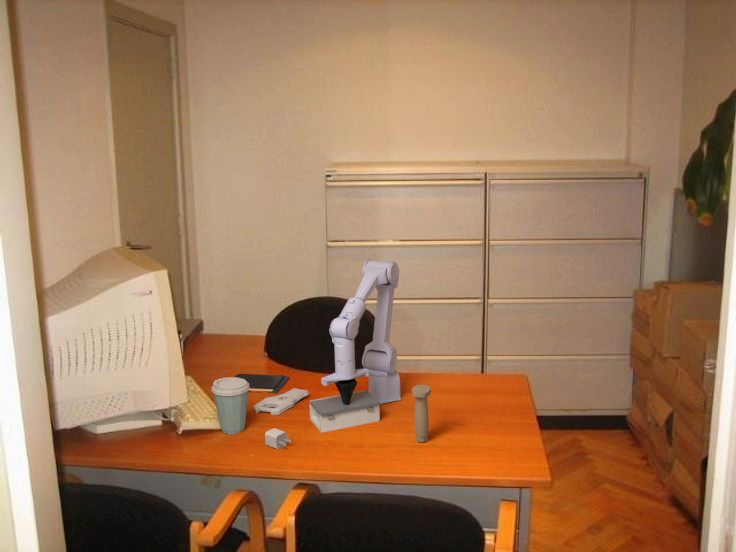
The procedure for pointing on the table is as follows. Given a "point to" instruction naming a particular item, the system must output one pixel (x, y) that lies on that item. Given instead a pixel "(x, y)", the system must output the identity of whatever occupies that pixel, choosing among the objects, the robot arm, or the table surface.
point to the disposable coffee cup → (231, 403)
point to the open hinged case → (344, 418)
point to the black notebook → (264, 382)
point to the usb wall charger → (276, 438)
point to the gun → (280, 401)
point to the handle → (421, 412)
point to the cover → (336, 405)
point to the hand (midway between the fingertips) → (346, 404)
